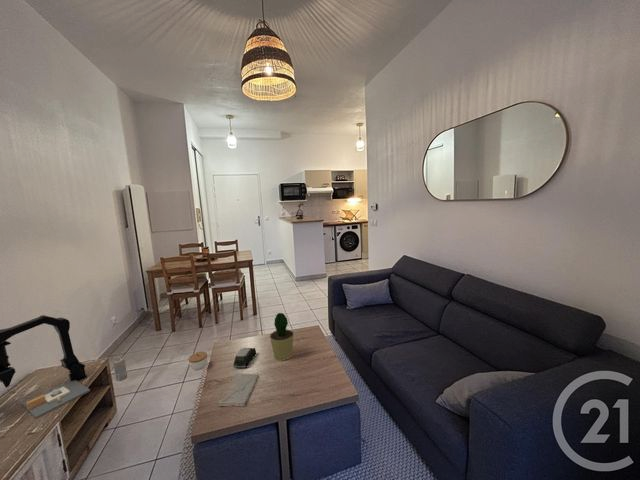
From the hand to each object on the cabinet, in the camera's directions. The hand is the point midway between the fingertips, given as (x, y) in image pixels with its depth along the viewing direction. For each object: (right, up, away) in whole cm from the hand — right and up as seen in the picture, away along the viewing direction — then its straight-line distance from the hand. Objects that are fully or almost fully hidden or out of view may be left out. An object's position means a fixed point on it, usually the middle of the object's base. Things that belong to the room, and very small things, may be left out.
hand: (4, 384), depth 138 cm
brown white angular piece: (+16, -12, +6) cm, 21 cm away
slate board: (+18, -12, +9) cm, 23 cm away
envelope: (+119, -8, +8) cm, 119 cm away
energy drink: (+43, -9, +23) cm, 50 cm away
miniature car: (+114, -4, +35) cm, 120 cm away
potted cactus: (+138, -2, +39) cm, 143 cm away
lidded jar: (+86, -6, +31) cm, 92 cm away
